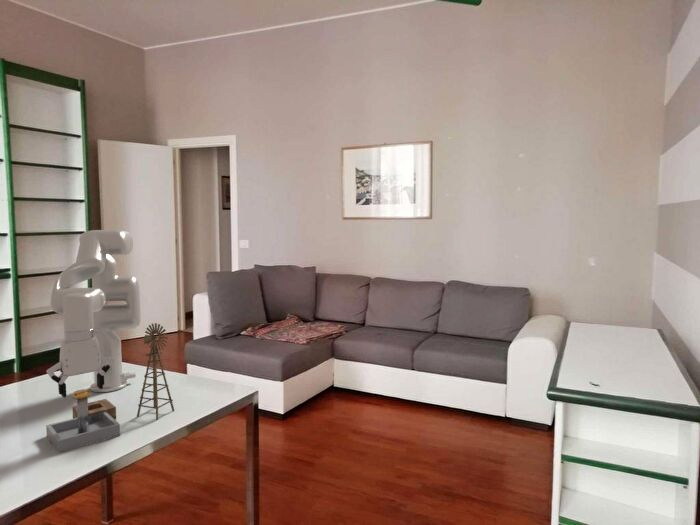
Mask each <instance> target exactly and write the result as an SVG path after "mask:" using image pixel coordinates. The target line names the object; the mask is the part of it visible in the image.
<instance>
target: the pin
mask: <svg viewBox="0 0 700 525" xmlns="http://www.w3.org/2000/svg"><path fill="white" fill-rule="evenodd" d="M89 397H91V390H90V388H89V389H88V388H86V389H85V388H83V389H78V390H75V391H74V392H73V399H74V400H76V406H77V420H78V434H81V433H85V432H88V431H89V421H88V403H89V400H88V399H89Z"/></svg>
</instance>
